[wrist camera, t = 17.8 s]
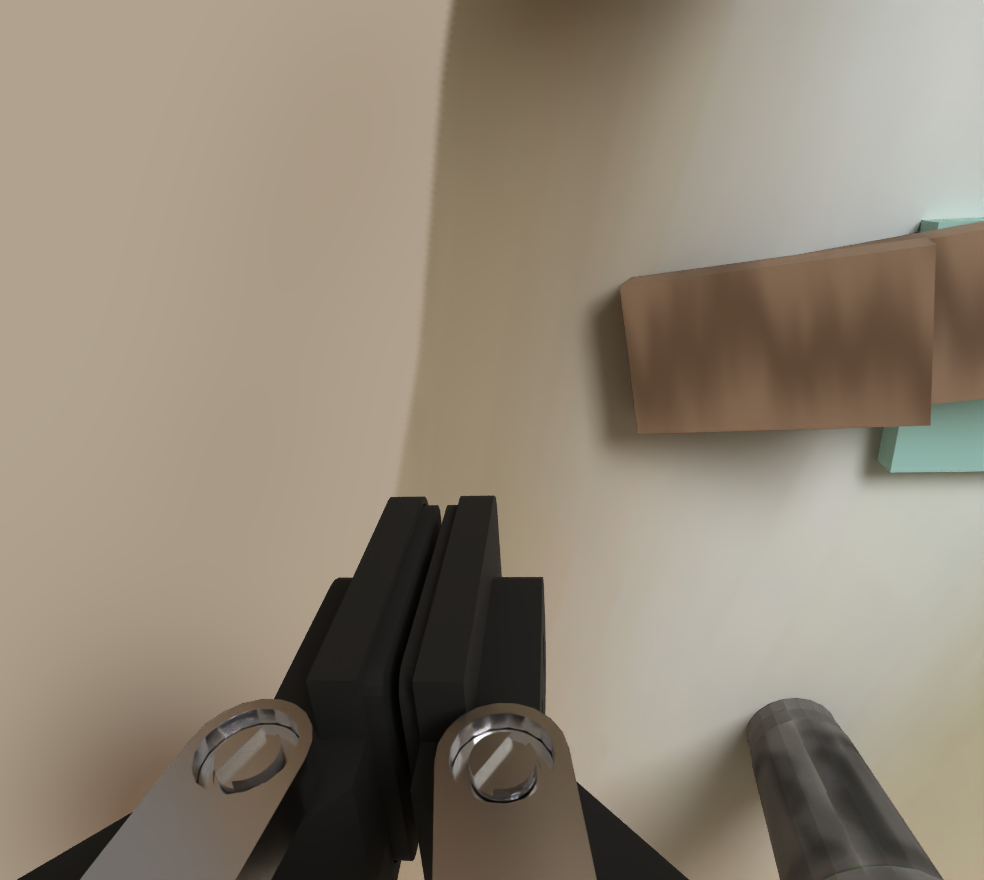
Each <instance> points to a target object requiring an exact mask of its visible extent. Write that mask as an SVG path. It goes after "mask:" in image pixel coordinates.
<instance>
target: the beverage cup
mask: <svg viewBox="0 0 984 880" xmlns="http://www.w3.org/2000/svg"><path fill="white" fill-rule="evenodd" d="M747 740H748V743H749V746H750V752H751V757H752V767H753V771H754V775H755V779H756V783H757V787H758V791H759V795H760V799H761V804H762V808H763V812H764V816H765V820H766V824H767V828H768V832H769V836H770V840H771V844H772V849H773V853H774V857H775V861H776V865H777V869H778V873H779V877H780V880H943V878H942V877H941V875H940V874H939V872H938V871H937V869H936V868H935V866H934V865H933V863H932V862H931V860H930V859H929V857H928V856H927V854H926V853H925V851H924V850H923V848H922V847H921V845H920V844H919V842H918V841H917V839H916V838H915V836H914V835H913V833H912V832H911V830H910V829H909V827H908V826H907V824H906V823H905V821H904V820H903V818H902V817H901V815H900V814H899V812H898V811H897V809H896V808H895V806H894V805H893V803H892V802H891V800H890V799H889V797H888V796H887V794H886V793H885V791H884V790H883V788H882V787H881V785H880V784H879V782H878V781H877V779H876V778H875V776H874V775H873V773H872V772H871V770H870V769H869V767H868V766H867V764H866V763H865V761H864V760H863V758H862V757H861V755H860V754H859V752H858V751H857V749H856V748H855V746H854V745H853V743H852V742H851V740H850V739H849V737H848V736H847V735H846V734H845V733H844V732H843V731H842V729H841V728H840V726H839V725H838V724H837V723H836V722H835V720H834V718H833V716H832V714H831V713H830V712H829V711H828V710H827V709H826V708H825V707H823V706H822V705H820V704H818V703H815V702H813V701H811V700H805V699H798V698H794V699H783V700H780V701H777V702H774V703H771V704H768V705H767V706H765V707H764V708H762V709H761V710H759V711H758V712H757V713H756V714H755V715H754V717H753V718H752V719H751V720H750V723H749V726H748V728H747Z"/></svg>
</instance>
